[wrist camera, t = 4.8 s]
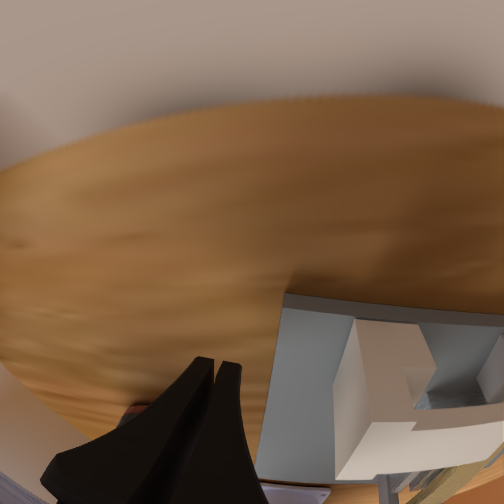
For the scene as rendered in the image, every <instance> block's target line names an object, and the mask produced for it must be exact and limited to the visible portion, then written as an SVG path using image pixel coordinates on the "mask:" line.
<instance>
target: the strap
mask: <svg viewBox="0 0 504 504" xmlns="http://www.w3.org/2000/svg"><path fill="white" fill-rule="evenodd" d="M502 403H504V400H503V401H502ZM503 448H504V442H503V443H502V444H501V445H500V446H499V447H498V448H497V449H496V450H495V451H494V452H493V453H492V454H491V455H490V457H489V458H488V459H487V460H483V461H479V462H474V463H469V464H464V465H458V466H453V467H446V468H445V469H444V470H443V471H442V472H441V473H440V474H439V475H438V476H437V477H436V478H435V479H434V480H433V481H431V482H430V483H429V484H428V485H427V486H426V487H425V488H424V489H423V490H421V491H420V492H419V493H418V494H417V495H416V496H415V497H413V498H412V499H411V500H410V501H409V502H407V503H406V504H442V503H443V502H444V501H446V500H447V499H448V498H450V497H451V496H452V495H453V494H455V493H456V492H457V491H458V490H459V489H461V488H462V487H463V486H464V485H465V484H467V483H468V482H469V481H470V480H471V479H472V478H473V477H474V476H476V475H477V474H478V473H479V472H480V471H481V470H482V469H483V468H484V467H485V466H486V465H487V464H488V463H489V462H490V461H491V460H492V459H493V458H494V457H495V456H496V455H497V454H498V453H499V452H500V451H501V450H502V449H503Z"/></svg>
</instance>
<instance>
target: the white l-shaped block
mask: <svg viewBox="0 0 504 504" xmlns="http://www.w3.org/2000/svg"><path fill="white" fill-rule="evenodd" d="M436 369H437V367H436V364H435V362H434V359H433V357H432V355H431V352H430V350H429V348H428V345H427V343H426V341H425V339H424V336H423V334H422V332H421V330H420V327H419V325H416V324H404V323H392V322H381V321H370V320H360V319H354V321H353V325H352V328H351V331H350V334H349V338H348V341H347V344H346V347H345V350H344V353H343V356H342V359H341V362H340V365H339V368H338V371H337V374H336V377H335V380H334V383H333V402H334V430H335V480H372V479H373V478H374V477H375V476H376V475H377V474H391V473H405V472H415V471H425V470H433V469H440V468H446V467H453V466H458V465H464V464H469V463H474V462H479V461H483V460H487V459H488V458H489V457H490V455H491V454H492V453H493V452H494V451H495V450H496V449H497V448H498V447H499V446H500V445H501V444H502V443H503V442H504V403H497V404H490V405H481V406H471V407H460V408H446V409H427V410H414V407H415V405H416V404H417V402H418V401H419V399H420V397H421V396H422V394H423V392H424V390H425V389H426V387H427V385H428V384H429V382H430V380H431V378H432V376H433V375H434V373H435V371H436Z"/></svg>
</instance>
